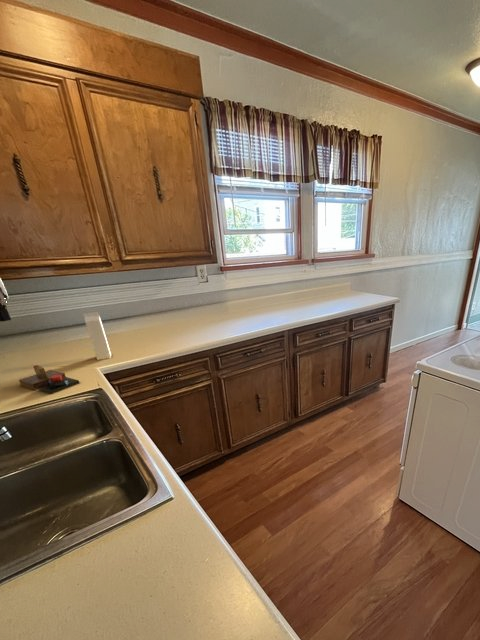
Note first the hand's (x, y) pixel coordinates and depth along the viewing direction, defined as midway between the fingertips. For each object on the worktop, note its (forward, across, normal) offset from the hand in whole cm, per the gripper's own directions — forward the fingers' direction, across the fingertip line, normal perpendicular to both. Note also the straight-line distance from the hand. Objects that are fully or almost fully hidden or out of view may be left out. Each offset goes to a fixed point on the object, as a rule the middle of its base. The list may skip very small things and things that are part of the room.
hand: (5, 320), depth 116 cm
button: (+24, +8, +5) cm, 26 cm away
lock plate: (+27, -2, +5) cm, 28 cm away
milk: (+27, -8, +36) cm, 46 cm away
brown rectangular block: (+24, -2, +5) cm, 25 cm away
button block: (+27, +8, +5) cm, 29 cm away
